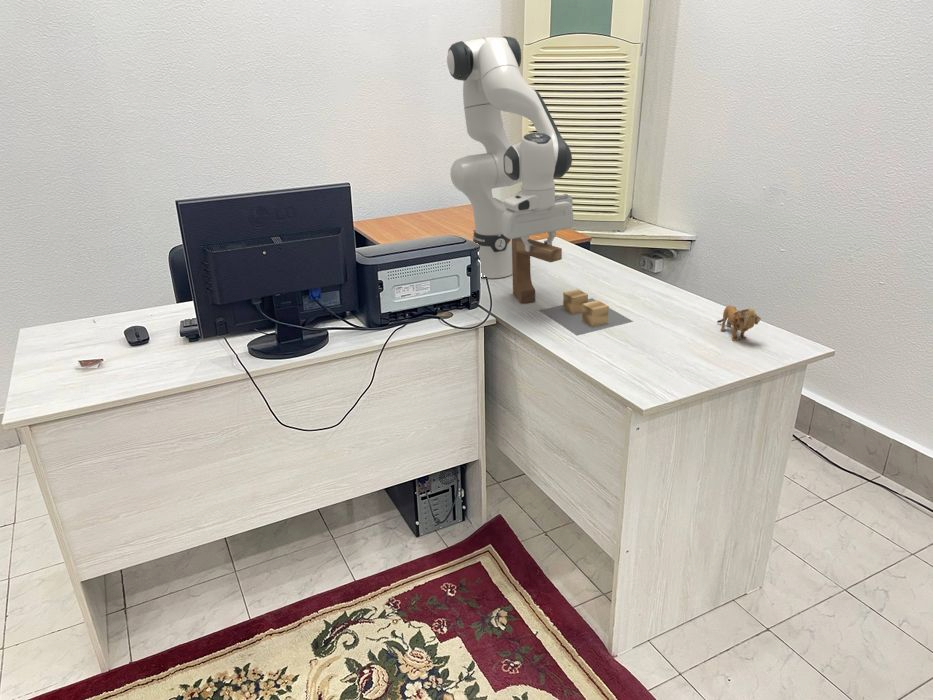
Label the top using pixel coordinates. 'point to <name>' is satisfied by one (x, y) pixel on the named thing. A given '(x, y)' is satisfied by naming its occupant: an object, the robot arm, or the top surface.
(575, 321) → the mat
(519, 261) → the wooden block
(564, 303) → the cube
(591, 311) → the cube
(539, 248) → the lintel
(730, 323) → the lion figurine
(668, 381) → the top surface
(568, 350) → the top surface
